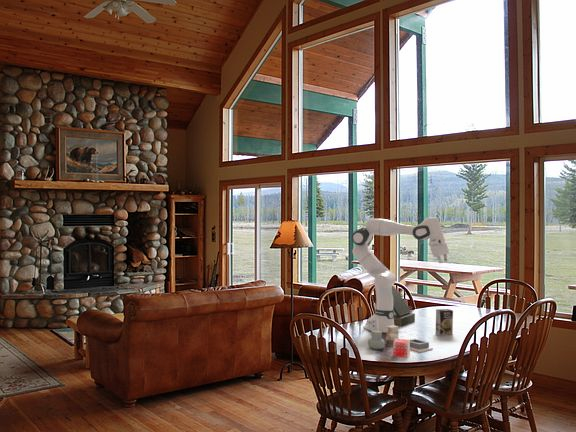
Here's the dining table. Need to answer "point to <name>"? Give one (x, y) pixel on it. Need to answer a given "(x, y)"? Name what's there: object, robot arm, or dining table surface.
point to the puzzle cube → (401, 347)
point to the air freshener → (376, 340)
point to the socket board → (419, 345)
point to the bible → (401, 310)
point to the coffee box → (444, 322)
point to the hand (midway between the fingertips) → (443, 262)
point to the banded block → (391, 334)
